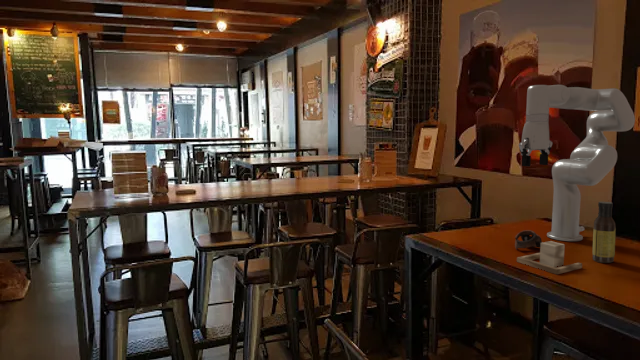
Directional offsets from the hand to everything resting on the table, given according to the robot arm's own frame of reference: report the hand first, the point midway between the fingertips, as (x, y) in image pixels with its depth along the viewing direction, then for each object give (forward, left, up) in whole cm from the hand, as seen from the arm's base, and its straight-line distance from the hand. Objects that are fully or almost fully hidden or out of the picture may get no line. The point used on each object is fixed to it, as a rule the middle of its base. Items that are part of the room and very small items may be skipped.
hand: (534, 165), depth 165 cm
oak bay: (+16, +19, -30) cm, 39 cm away
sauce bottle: (-3, +25, -31) cm, 40 cm away
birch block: (+15, +19, -30) cm, 39 cm away
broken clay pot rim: (+6, +4, -31) cm, 31 cm away
